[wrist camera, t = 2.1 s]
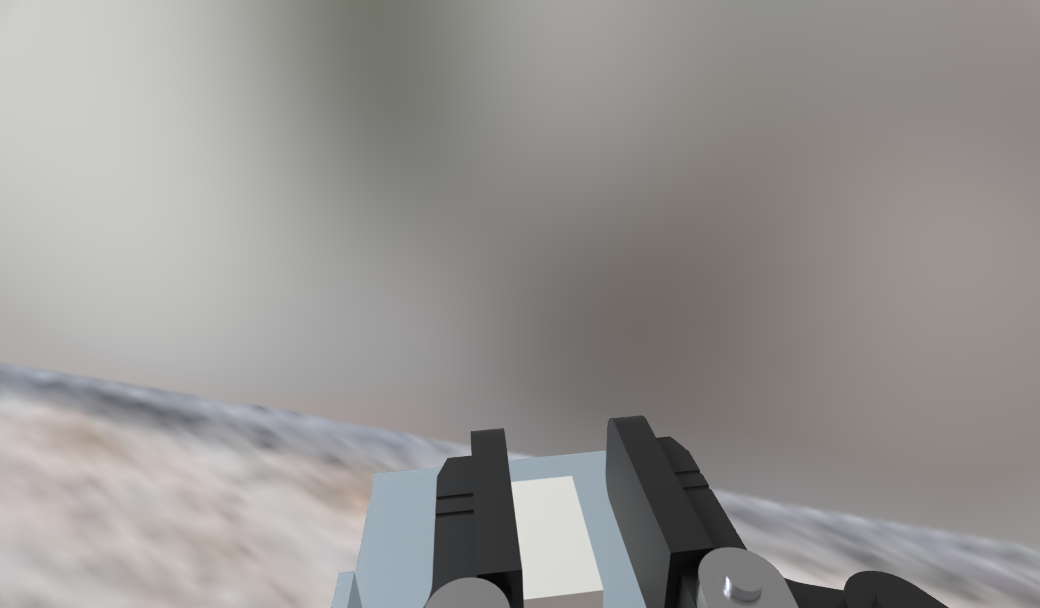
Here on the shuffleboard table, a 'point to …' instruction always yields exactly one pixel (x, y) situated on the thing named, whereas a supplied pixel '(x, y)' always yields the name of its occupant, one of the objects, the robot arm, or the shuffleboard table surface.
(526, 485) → the cream block
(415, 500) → the trough
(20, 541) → the shuffleboard table surface
